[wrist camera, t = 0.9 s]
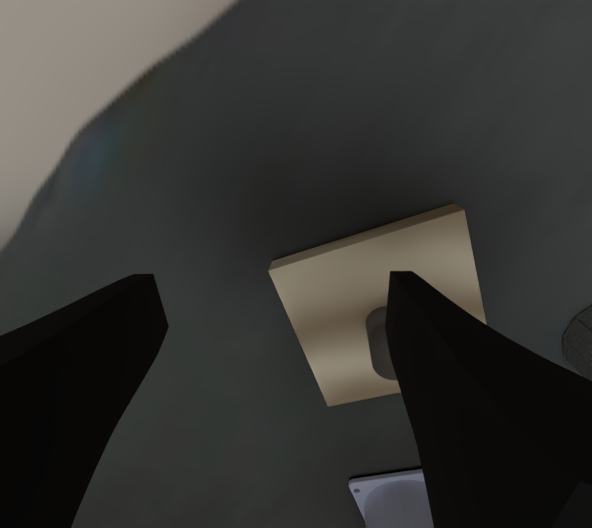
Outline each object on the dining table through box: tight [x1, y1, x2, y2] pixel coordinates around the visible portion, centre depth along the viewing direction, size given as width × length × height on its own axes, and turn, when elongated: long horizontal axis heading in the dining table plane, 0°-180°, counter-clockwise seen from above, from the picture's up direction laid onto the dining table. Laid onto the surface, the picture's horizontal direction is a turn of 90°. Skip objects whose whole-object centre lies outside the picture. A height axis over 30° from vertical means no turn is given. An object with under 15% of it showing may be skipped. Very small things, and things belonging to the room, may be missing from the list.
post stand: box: [268, 203, 486, 407], centre depth 19 cm, size 11×11×5 cm
